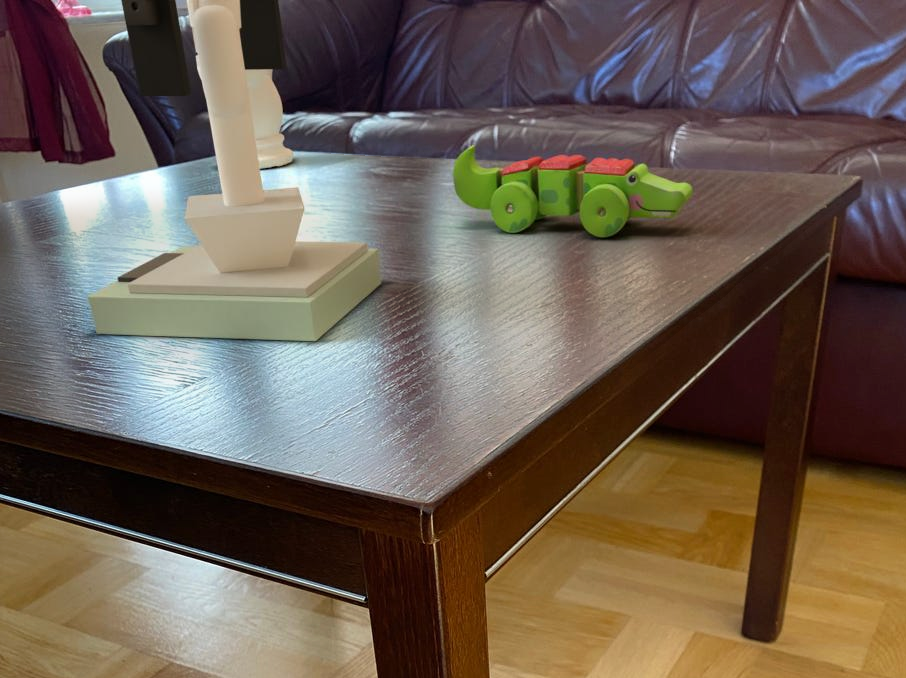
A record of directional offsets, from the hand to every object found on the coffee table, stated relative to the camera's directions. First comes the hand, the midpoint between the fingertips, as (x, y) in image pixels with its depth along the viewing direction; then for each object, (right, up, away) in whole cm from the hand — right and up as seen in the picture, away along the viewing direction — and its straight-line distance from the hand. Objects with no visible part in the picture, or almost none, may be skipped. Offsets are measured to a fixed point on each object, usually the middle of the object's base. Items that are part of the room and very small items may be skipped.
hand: (219, 81), depth 61 cm
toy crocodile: (+23, +1, +23) cm, 33 cm away
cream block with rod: (+1, -9, +6) cm, 11 cm away
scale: (0, -11, +8) cm, 13 cm away
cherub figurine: (-9, +21, +56) cm, 60 cm away
